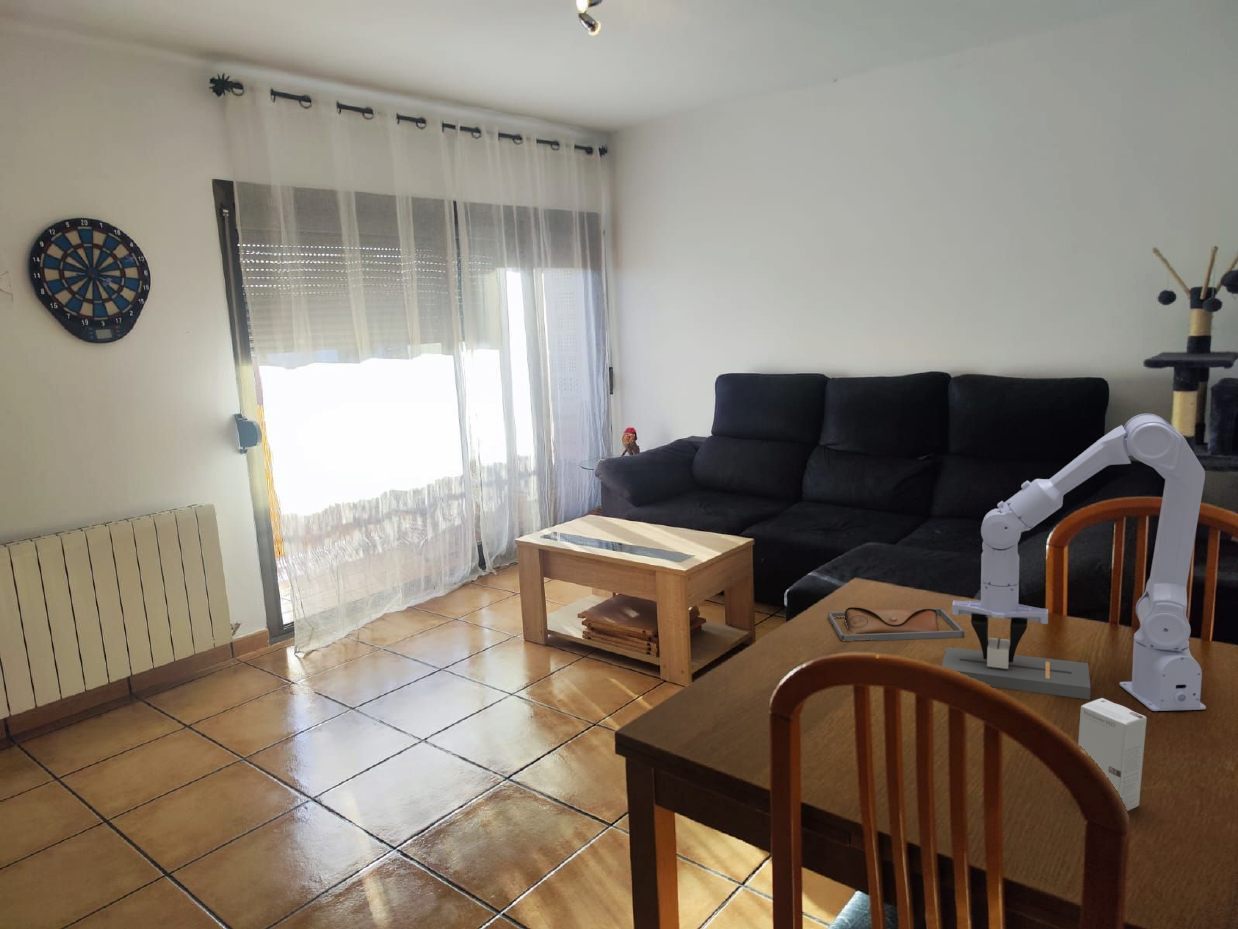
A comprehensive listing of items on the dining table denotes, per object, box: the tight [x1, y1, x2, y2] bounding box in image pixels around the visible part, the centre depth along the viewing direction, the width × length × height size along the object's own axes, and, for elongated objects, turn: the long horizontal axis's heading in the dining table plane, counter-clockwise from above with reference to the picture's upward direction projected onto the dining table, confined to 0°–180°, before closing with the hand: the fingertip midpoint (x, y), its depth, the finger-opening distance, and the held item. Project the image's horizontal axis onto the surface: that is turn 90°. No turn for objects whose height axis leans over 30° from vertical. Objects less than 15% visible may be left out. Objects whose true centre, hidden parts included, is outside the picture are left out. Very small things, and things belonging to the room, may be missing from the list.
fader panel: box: [941, 646, 1092, 701], centre depth 140 cm, size 22×10×2 cm, turn 63°
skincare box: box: [1077, 697, 1148, 812], centre depth 104 cm, size 6×4×12 cm
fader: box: [987, 637, 1010, 669], centre depth 141 cm, size 3×5×3 cm, turn 153°
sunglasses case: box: [844, 606, 940, 634], centre depth 164 cm, size 18×7×7 cm, turn 79°
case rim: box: [827, 607, 965, 641], centre depth 165 cm, size 13×23×1 cm, turn 87°
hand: (998, 658), depth 141 cm, fingers closed on fader, 3 cm apart
